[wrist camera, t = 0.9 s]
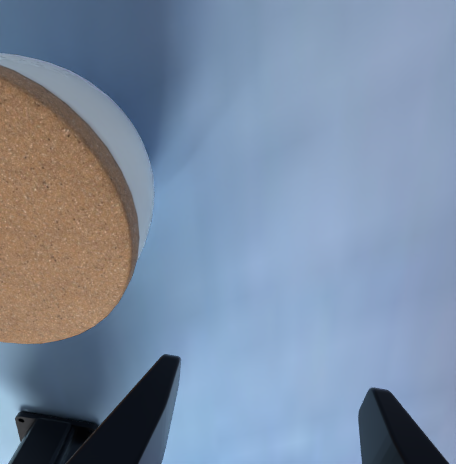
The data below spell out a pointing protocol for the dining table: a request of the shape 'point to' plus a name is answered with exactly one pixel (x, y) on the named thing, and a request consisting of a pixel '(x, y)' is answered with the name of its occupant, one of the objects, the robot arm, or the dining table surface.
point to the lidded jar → (65, 202)
